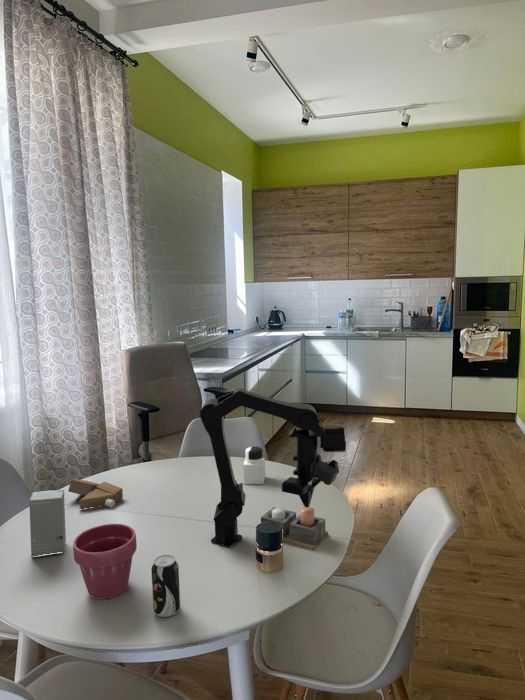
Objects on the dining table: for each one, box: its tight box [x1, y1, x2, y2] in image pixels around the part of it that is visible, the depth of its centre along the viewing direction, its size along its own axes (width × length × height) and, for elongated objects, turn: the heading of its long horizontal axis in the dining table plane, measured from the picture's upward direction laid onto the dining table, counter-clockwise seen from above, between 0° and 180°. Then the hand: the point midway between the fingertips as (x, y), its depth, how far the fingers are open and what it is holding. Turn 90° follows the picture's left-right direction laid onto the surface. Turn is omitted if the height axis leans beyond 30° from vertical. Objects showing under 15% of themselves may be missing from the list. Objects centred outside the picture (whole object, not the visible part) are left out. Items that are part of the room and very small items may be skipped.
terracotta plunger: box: [299, 506, 315, 528], centre depth 143 cm, size 4×4×5 cm
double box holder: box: [260, 506, 329, 552], centre depth 146 cm, size 10×17×5 cm, turn 60°
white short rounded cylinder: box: [272, 507, 286, 520], centre depth 148 cm, size 4×4×5 cm
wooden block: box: [67, 478, 124, 510], centre depth 170 cm, size 8×13×18 cm
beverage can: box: [150, 554, 181, 618], centre depth 113 cm, size 6×6×12 cm
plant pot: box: [72, 523, 137, 600], centre depth 122 cm, size 14×14×13 cm
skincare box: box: [28, 489, 67, 557], centre depth 139 cm, size 8×7×16 cm
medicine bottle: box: [242, 446, 266, 485], centre depth 185 cm, size 7×7×12 cm
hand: (306, 506), depth 143 cm, fingers closed
